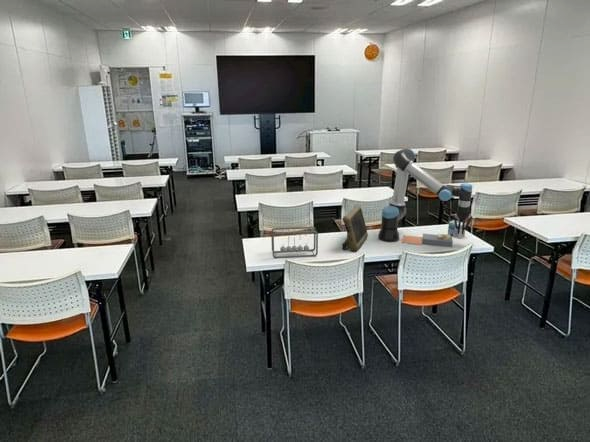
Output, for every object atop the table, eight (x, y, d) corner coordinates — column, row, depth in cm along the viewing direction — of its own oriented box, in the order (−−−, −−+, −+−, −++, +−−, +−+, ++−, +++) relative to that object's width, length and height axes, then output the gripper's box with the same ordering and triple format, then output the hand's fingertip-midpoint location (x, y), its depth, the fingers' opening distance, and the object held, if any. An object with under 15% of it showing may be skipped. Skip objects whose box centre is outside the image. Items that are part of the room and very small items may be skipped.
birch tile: (437, 239, 283) (437, 236, 283) (437, 236, 289) (437, 233, 288) (449, 240, 281) (449, 237, 280) (449, 237, 286) (449, 234, 286)
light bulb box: (447, 235, 302) (448, 221, 299) (451, 233, 306) (453, 219, 303) (460, 238, 294) (462, 225, 291) (464, 236, 299) (466, 223, 295)
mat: (401, 243, 287) (401, 242, 287) (403, 235, 301) (403, 235, 301) (422, 245, 283) (422, 244, 283) (422, 237, 297) (422, 237, 297)
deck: (422, 244, 285) (422, 239, 283) (422, 238, 296) (422, 233, 294) (452, 247, 279) (452, 241, 278) (451, 241, 290) (451, 236, 288)
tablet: (360, 253, 270) (362, 218, 262) (340, 250, 274) (341, 216, 266) (368, 237, 299) (369, 205, 292) (349, 235, 304) (351, 203, 296)
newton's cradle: (315, 250, 275) (315, 226, 269) (317, 256, 265) (318, 231, 260) (271, 252, 272) (271, 227, 266) (272, 258, 262) (272, 233, 257)
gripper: (454, 206, 272) (450, 239, 280) (474, 208, 269) (470, 240, 276) (453, 203, 279) (449, 235, 287) (473, 205, 276) (469, 237, 283)
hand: (459, 238), depth 281 cm, fingers closed
